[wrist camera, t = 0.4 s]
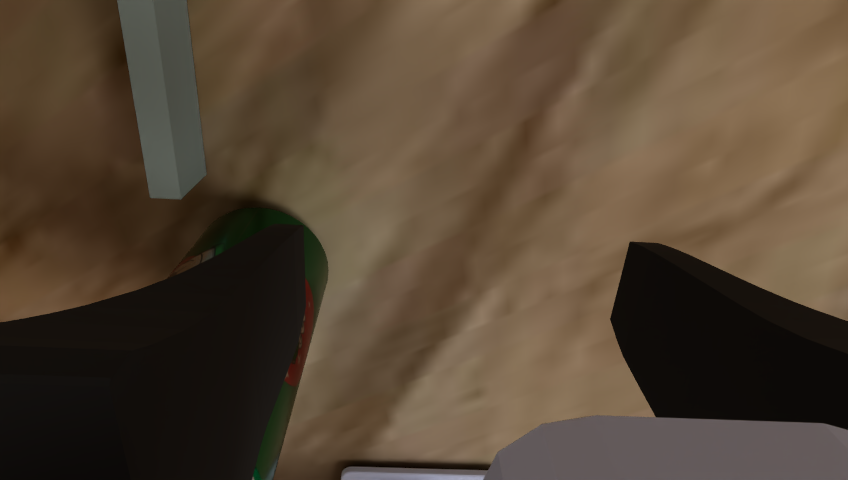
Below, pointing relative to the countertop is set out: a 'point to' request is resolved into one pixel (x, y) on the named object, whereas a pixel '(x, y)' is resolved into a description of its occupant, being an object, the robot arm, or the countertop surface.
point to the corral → (164, 94)
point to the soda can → (248, 223)
